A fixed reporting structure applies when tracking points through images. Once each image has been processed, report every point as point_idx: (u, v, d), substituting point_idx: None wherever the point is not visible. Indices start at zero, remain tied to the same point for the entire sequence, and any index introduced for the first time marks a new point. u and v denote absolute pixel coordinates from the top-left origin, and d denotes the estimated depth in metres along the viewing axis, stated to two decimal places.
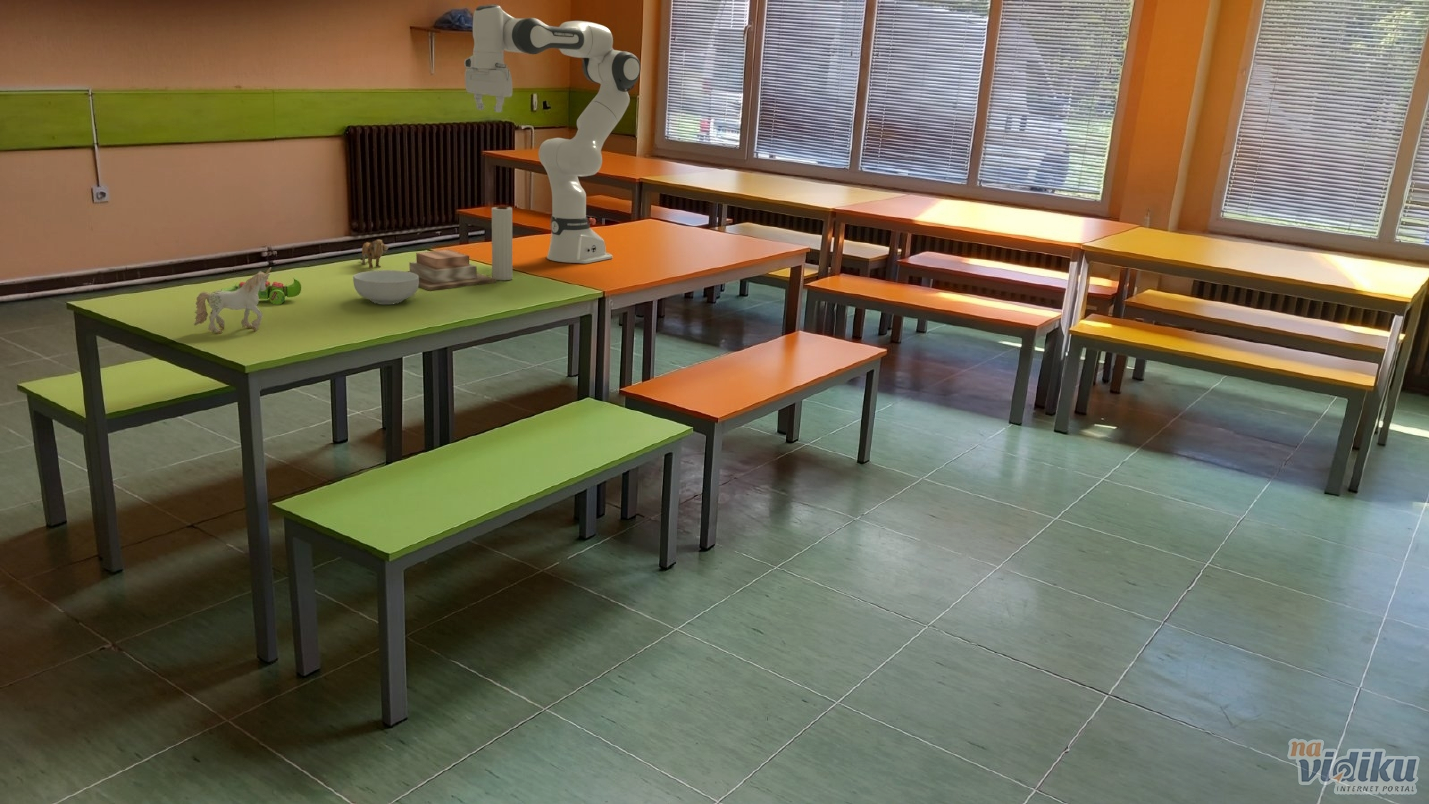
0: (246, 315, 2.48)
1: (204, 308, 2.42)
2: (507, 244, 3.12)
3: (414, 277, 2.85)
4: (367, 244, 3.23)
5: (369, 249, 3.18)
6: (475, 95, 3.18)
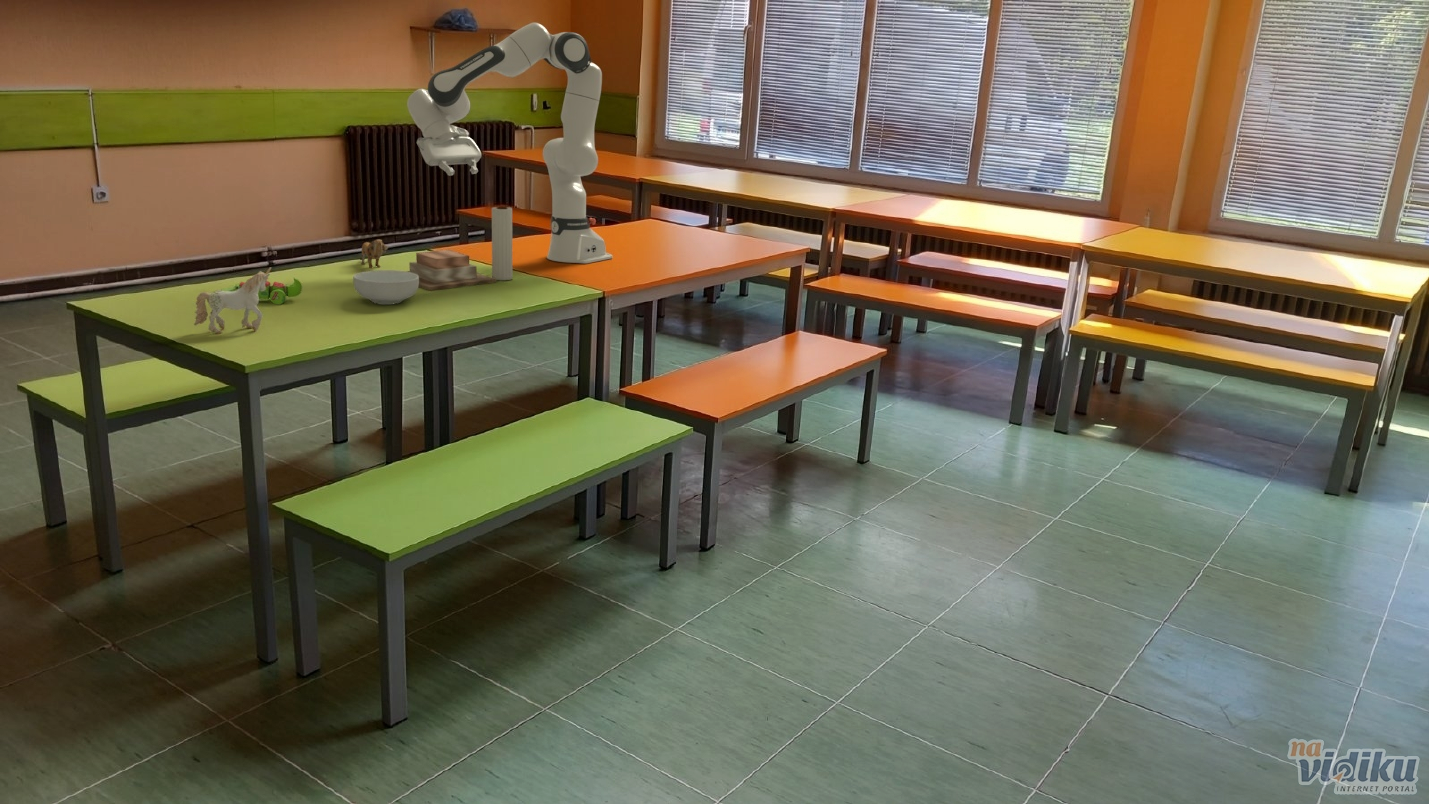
0: (246, 315, 2.48)
1: (204, 308, 2.42)
2: (507, 244, 3.12)
3: (414, 277, 2.85)
4: (367, 244, 3.23)
5: (369, 249, 3.18)
6: None
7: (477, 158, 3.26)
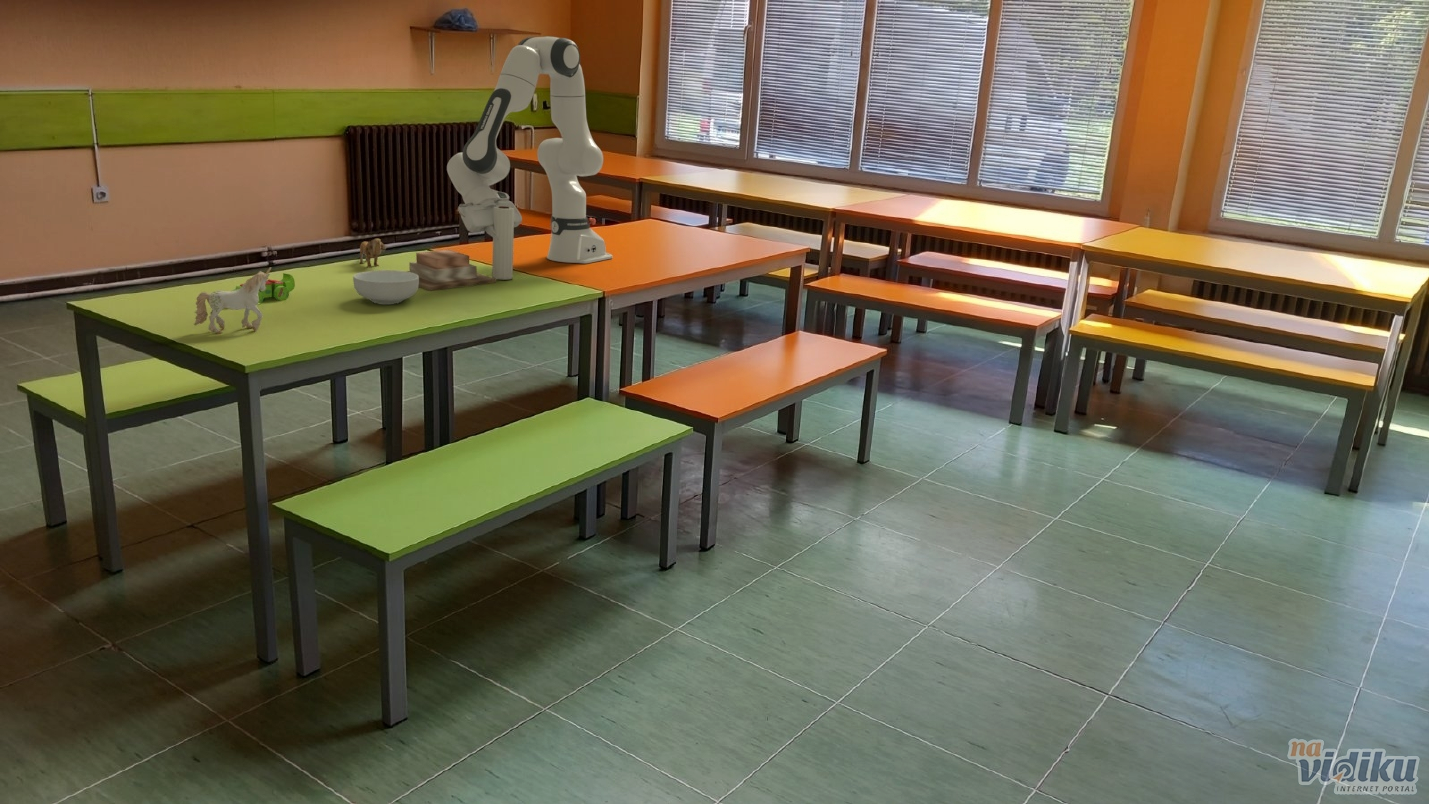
0: (246, 315, 2.48)
1: (204, 308, 2.42)
2: (508, 243, 3.12)
3: (414, 277, 2.85)
4: (365, 243, 3.24)
5: (367, 248, 3.19)
6: None
7: (518, 222, 3.20)
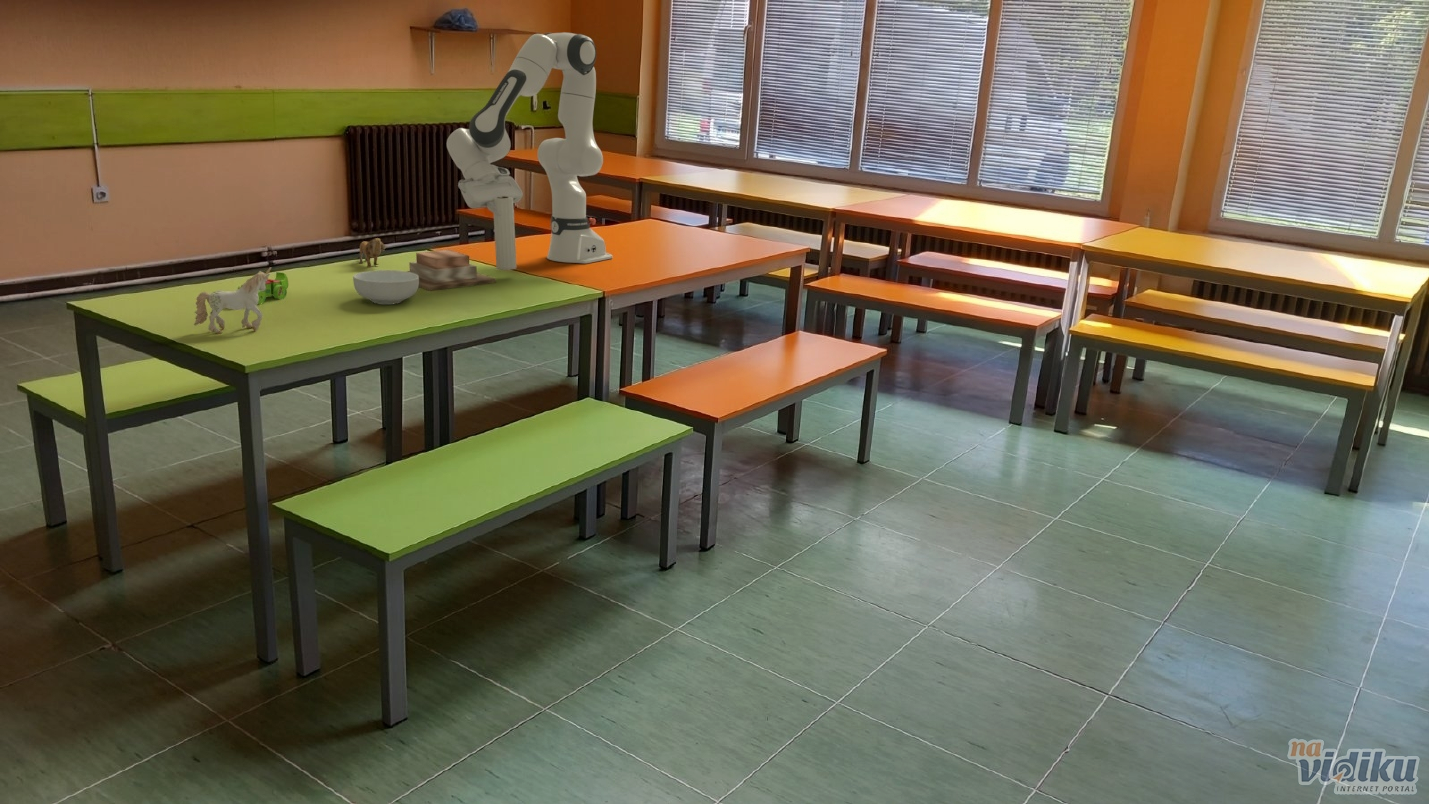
0: (246, 315, 2.48)
1: (204, 308, 2.42)
2: (510, 233, 3.11)
3: (414, 277, 2.85)
4: (365, 243, 3.25)
5: (367, 248, 3.20)
6: None
7: (519, 198, 3.18)
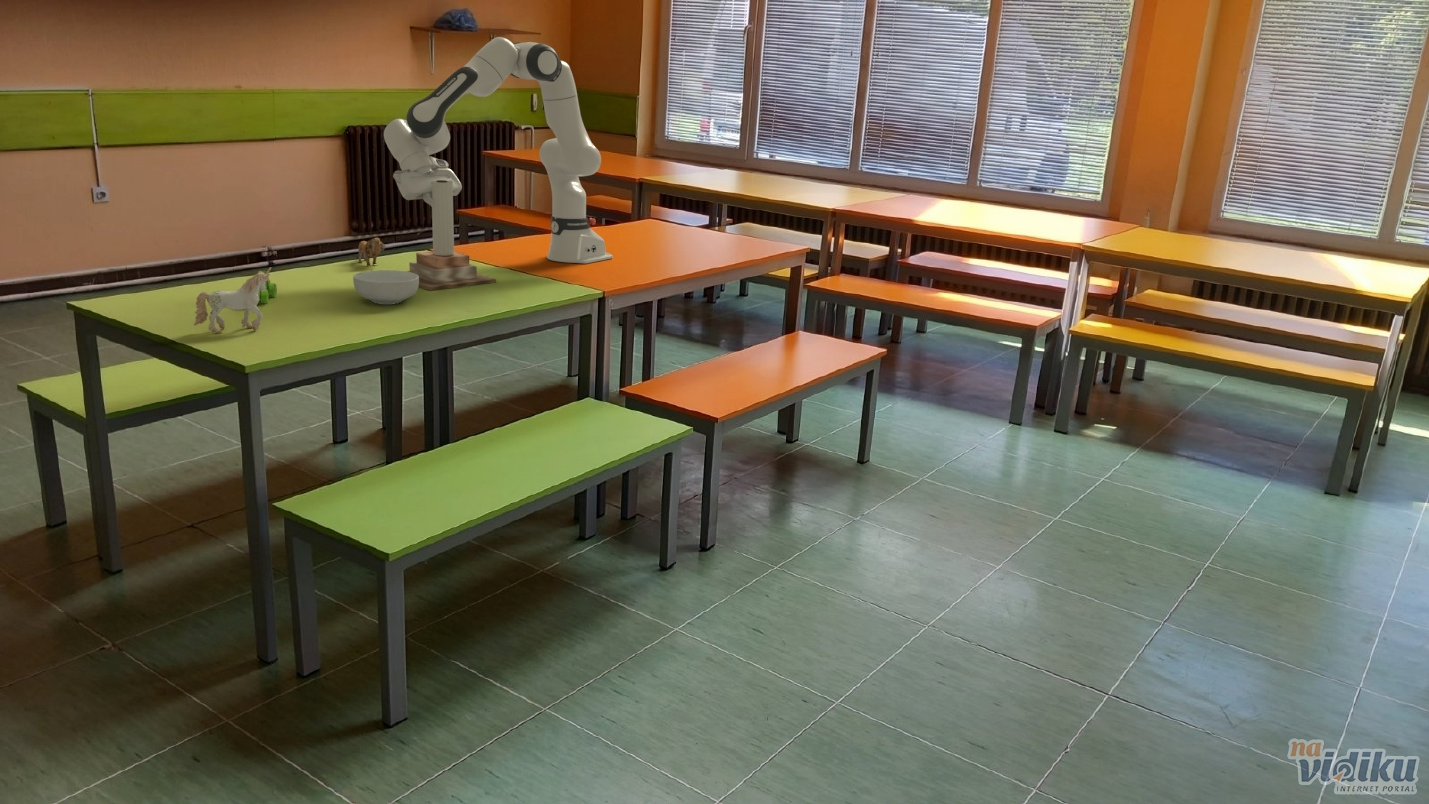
0: (246, 315, 2.48)
1: (204, 308, 2.42)
2: (448, 218, 3.04)
3: (414, 277, 2.85)
4: (364, 242, 3.25)
5: (367, 247, 3.20)
6: None
7: (457, 190, 3.11)
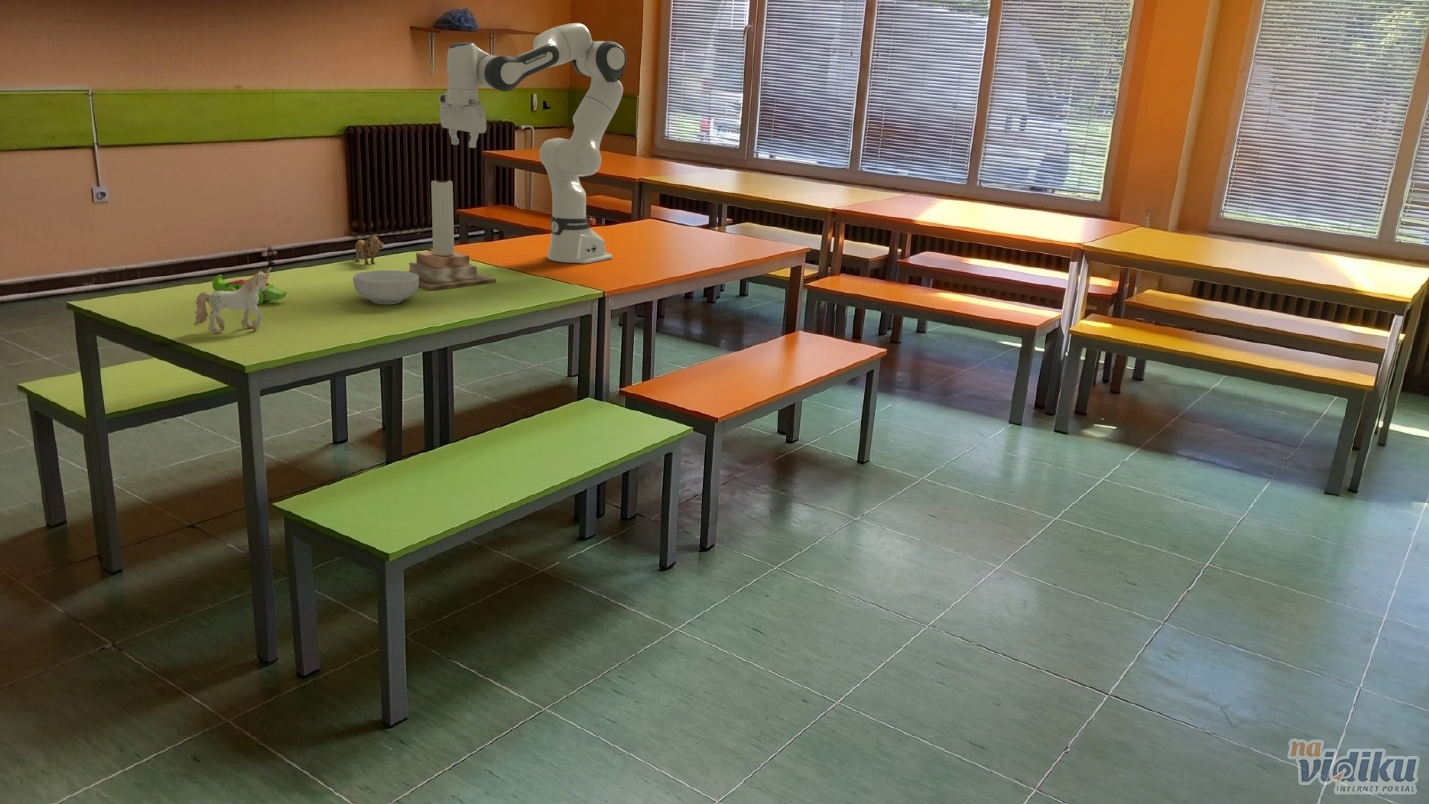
0: (246, 315, 2.48)
1: (204, 308, 2.42)
2: (448, 218, 3.04)
3: (414, 277, 2.85)
4: (361, 241, 3.27)
5: (365, 246, 3.22)
6: (450, 130, 3.21)
7: None
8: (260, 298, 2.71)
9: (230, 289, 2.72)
